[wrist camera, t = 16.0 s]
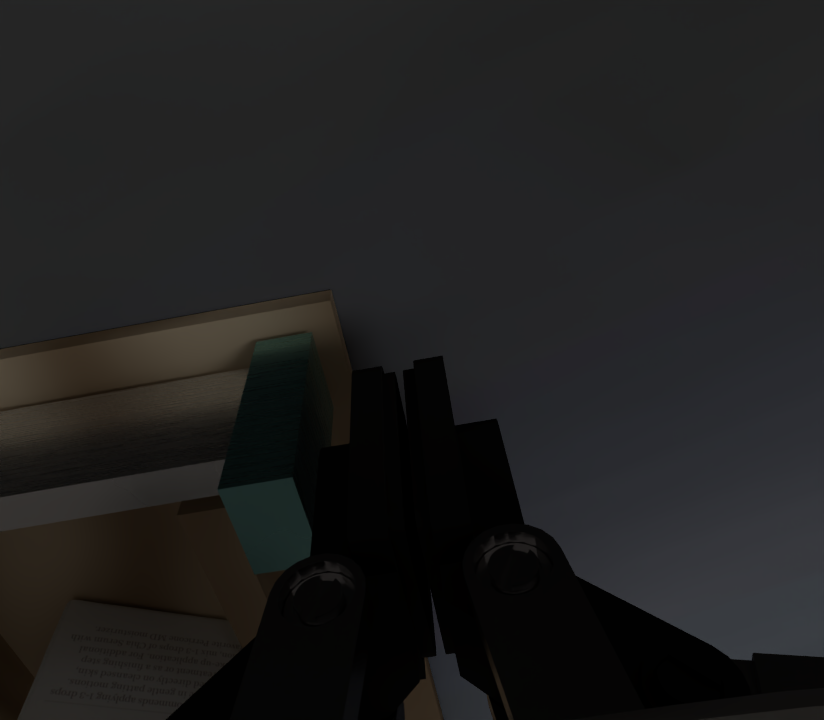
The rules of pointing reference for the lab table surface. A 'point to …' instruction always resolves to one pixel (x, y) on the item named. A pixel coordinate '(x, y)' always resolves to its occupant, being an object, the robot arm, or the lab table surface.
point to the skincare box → (125, 663)
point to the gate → (182, 451)
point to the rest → (162, 524)
